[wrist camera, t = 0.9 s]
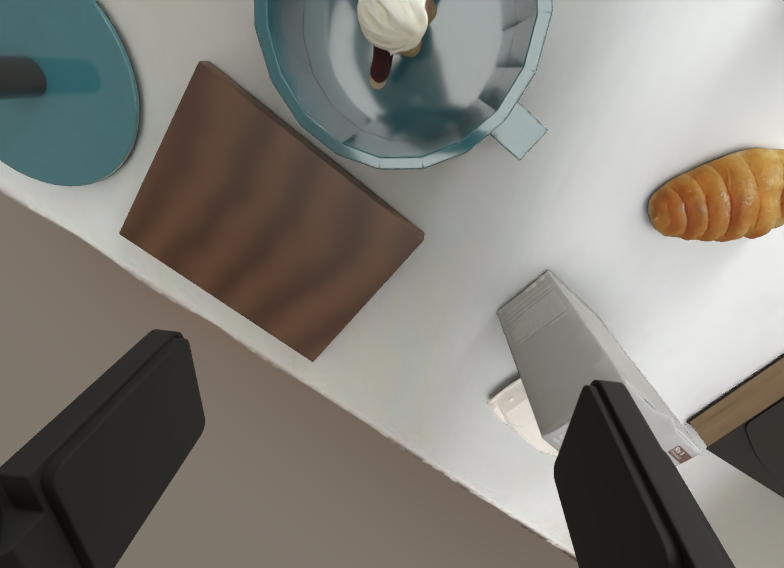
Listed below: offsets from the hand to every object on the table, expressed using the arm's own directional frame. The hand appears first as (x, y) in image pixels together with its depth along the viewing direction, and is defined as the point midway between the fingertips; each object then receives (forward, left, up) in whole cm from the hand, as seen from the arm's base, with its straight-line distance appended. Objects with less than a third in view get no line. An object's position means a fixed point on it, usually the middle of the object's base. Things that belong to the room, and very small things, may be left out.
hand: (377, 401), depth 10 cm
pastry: (+13, +20, -28) cm, 36 cm away
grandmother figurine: (-9, +4, -27) cm, 29 cm away
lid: (-21, -24, -27) cm, 42 cm away
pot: (-9, +4, -27) cm, 29 cm away
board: (-1, -15, -27) cm, 31 cm away
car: (+29, 0, -28) cm, 40 cm away
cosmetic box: (+18, +5, -28) cm, 33 cm away
